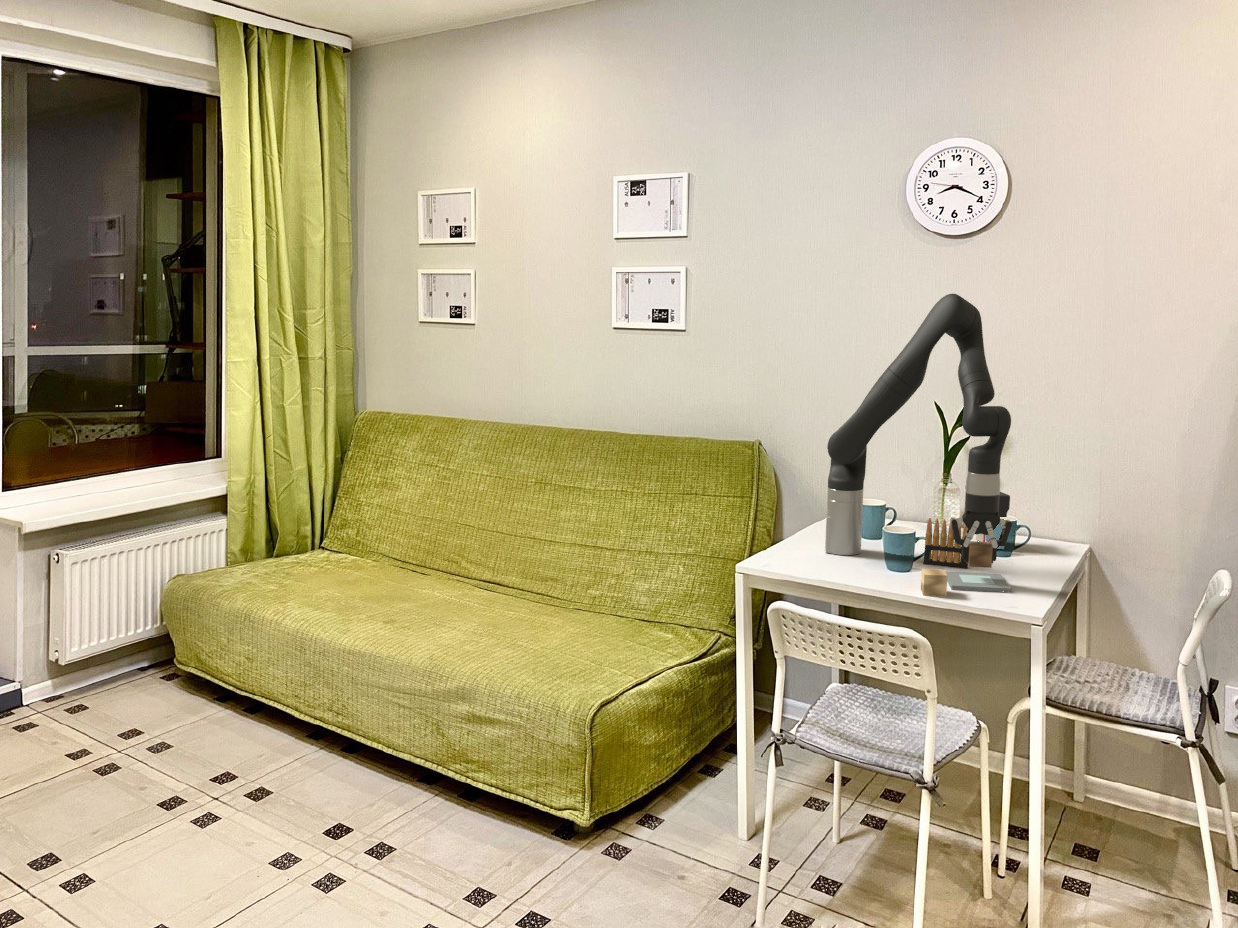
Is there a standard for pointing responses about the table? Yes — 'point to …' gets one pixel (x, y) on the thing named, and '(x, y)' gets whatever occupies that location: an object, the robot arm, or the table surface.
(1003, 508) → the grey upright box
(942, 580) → the maple block
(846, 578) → the table surface
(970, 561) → the walnut block
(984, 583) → the baseplate
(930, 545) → the ammunition clip
